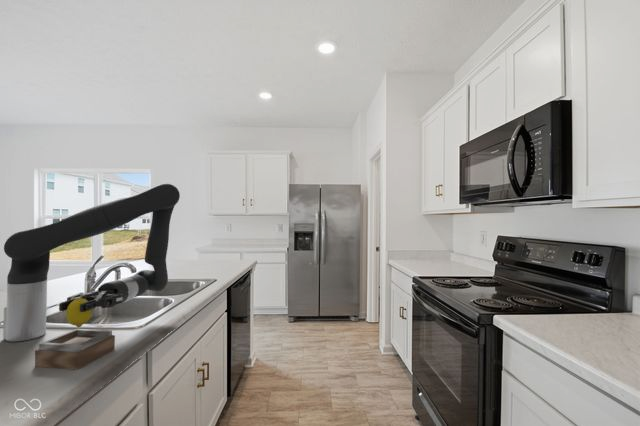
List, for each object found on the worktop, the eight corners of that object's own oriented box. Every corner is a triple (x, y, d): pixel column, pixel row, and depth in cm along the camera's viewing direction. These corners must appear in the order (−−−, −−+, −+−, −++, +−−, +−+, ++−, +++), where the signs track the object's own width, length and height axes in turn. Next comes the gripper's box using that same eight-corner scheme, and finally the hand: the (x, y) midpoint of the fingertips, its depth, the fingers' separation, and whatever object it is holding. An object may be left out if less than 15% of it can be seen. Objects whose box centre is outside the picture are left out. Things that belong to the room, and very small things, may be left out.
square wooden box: (34, 366, 80) (35, 344, 80) (76, 346, 92) (76, 327, 92) (78, 369, 78) (78, 347, 78) (114, 349, 90) (114, 330, 90)
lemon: (60, 330, 83) (60, 300, 83) (77, 323, 88) (77, 294, 88) (81, 331, 82) (81, 300, 82) (96, 323, 88) (96, 295, 88)
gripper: (97, 279, 100) (45, 292, 83) (139, 280, 99) (95, 294, 82) (97, 302, 100) (46, 321, 83) (139, 304, 99) (95, 323, 82)
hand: (71, 307), depth 83 cm, fingers closed on lemon, 5 cm apart
